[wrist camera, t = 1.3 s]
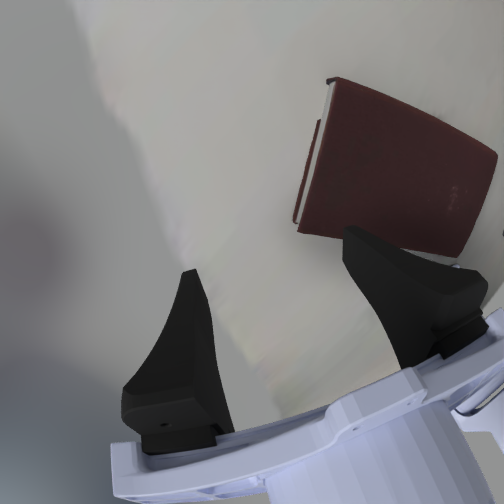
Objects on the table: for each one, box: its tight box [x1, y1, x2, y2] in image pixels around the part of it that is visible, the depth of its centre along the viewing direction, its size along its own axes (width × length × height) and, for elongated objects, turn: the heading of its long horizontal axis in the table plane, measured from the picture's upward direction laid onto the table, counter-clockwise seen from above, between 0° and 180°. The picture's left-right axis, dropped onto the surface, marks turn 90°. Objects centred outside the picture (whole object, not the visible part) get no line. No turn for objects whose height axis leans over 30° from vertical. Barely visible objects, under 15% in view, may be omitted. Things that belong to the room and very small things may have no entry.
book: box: [293, 77, 498, 258], centre depth 23 cm, size 13×19×3 cm, turn 79°
